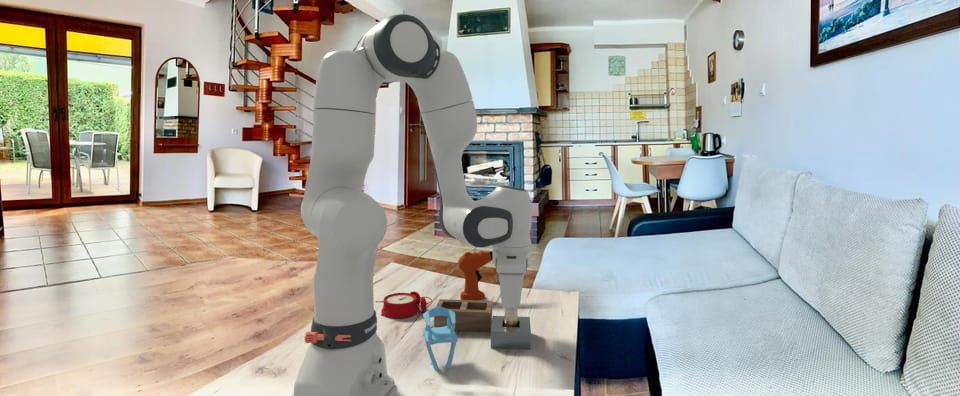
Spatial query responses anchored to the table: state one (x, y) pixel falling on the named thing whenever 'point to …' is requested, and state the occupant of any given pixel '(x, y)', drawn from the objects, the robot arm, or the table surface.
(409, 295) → the alarm clock
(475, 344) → the table surface
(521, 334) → the socket block
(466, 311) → the box
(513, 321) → the gold rounded rod
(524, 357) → the table surface
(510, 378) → the table surface
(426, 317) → the chair
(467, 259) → the toy drill
